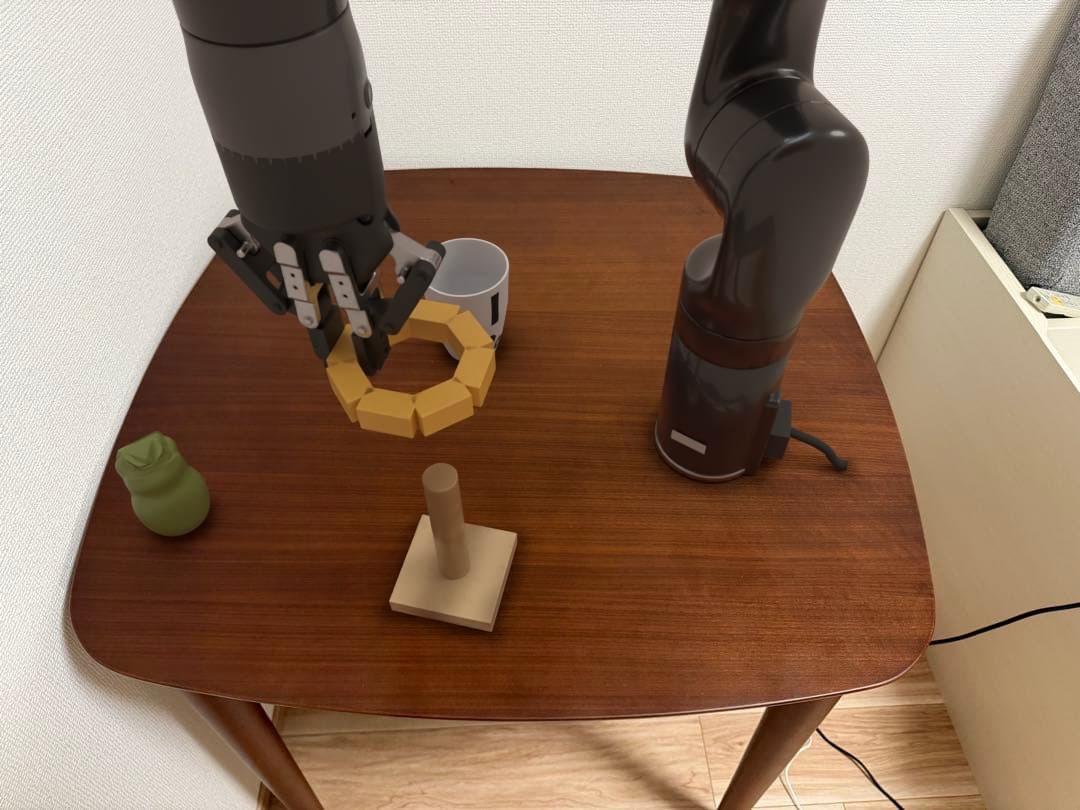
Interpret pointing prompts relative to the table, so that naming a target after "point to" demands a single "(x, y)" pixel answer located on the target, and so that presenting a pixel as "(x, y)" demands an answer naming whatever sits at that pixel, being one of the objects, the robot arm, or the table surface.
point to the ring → (429, 405)
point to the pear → (163, 485)
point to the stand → (453, 560)
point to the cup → (474, 283)
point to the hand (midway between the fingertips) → (356, 362)
